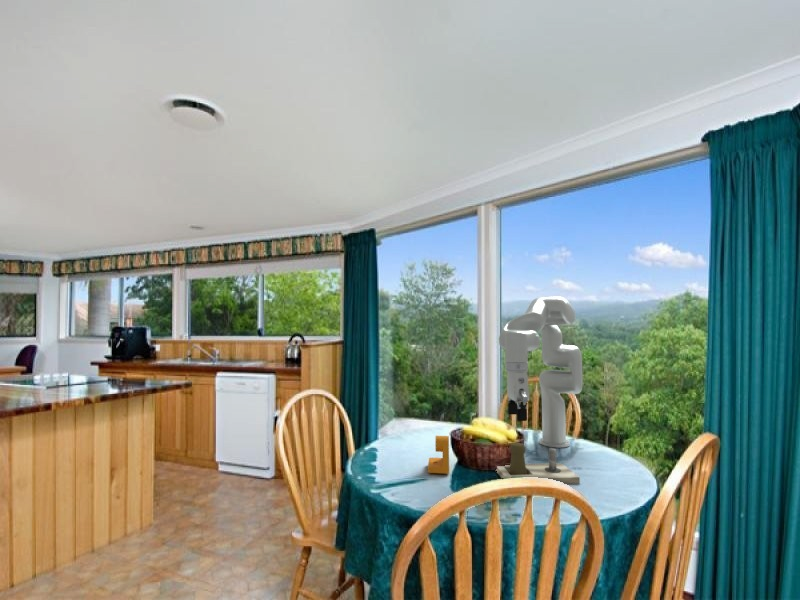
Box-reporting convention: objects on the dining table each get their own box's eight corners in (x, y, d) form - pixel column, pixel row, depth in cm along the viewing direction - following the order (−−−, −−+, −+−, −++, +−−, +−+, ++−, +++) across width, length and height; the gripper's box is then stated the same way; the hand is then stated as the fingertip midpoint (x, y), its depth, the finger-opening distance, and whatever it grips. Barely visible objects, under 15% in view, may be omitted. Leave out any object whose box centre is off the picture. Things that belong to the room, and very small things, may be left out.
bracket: (429, 464, 158) (429, 431, 159) (448, 465, 157) (448, 432, 158) (427, 475, 147) (427, 439, 148) (449, 476, 147) (448, 440, 147)
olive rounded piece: (509, 478, 144) (509, 445, 144) (508, 472, 150) (507, 440, 150) (528, 479, 143) (527, 446, 143) (525, 473, 149) (525, 441, 149)
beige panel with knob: (495, 470, 152) (494, 444, 153) (561, 468, 153) (561, 443, 154) (506, 484, 138) (506, 456, 139) (579, 483, 139) (579, 455, 140)
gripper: (536, 369, 139) (537, 423, 138) (519, 364, 156) (520, 411, 155) (513, 370, 139) (514, 423, 138) (498, 364, 156) (499, 412, 155)
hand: (517, 417), depth 147 cm, fingers open, 9 cm apart
